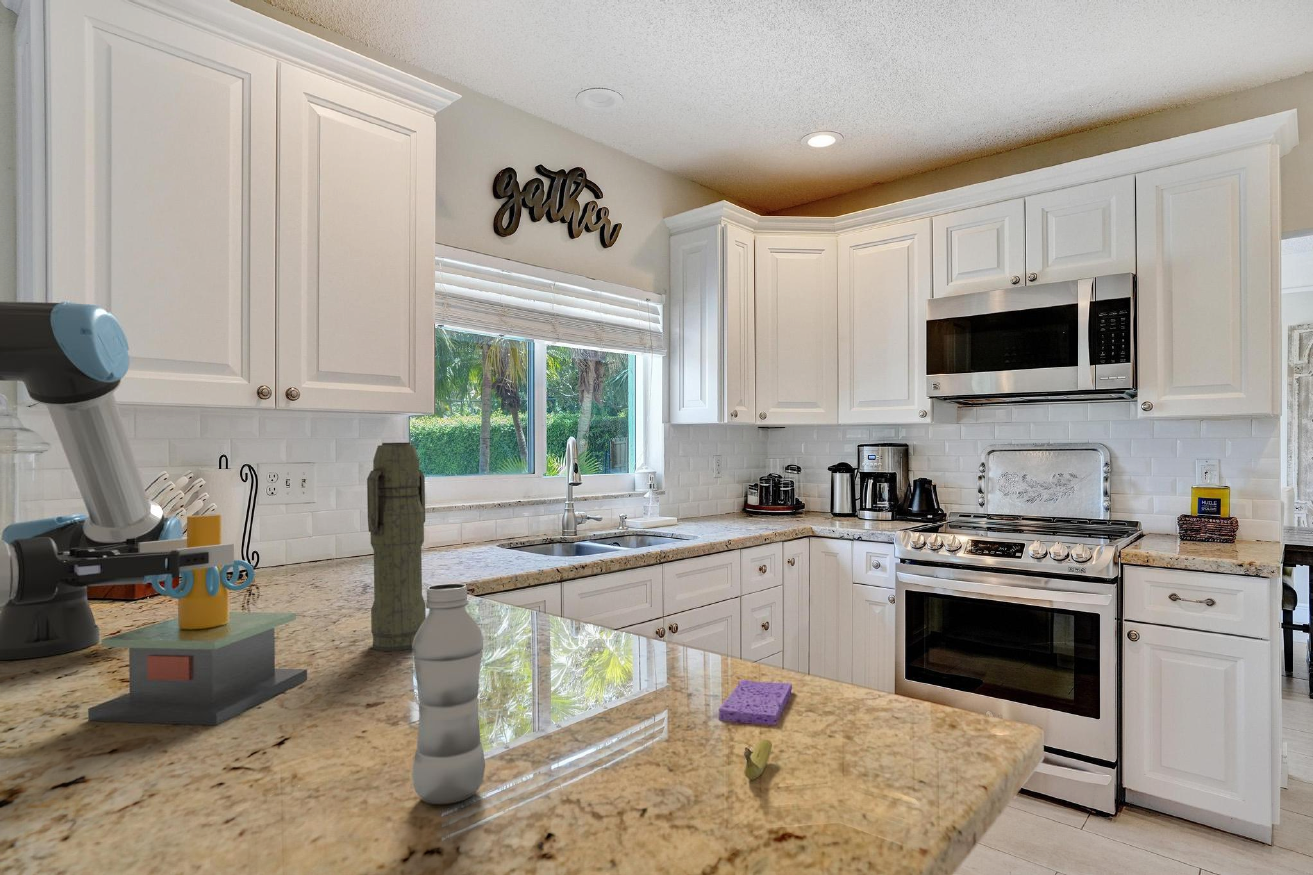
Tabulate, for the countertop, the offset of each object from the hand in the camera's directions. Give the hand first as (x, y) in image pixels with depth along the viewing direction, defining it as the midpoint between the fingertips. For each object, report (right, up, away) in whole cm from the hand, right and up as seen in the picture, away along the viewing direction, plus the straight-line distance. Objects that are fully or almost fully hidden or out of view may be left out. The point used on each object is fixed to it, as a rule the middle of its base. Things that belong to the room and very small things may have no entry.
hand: (211, 550), depth 101 cm
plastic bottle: (+42, -19, -31) cm, 56 cm away
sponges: (+74, -19, -8) cm, 77 cm away
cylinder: (0, -10, -1) cm, 10 cm away
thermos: (+17, -20, +26) cm, 37 cm away
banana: (+72, -18, -28) cm, 79 cm away
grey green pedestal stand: (0, -20, -1) cm, 20 cm away
